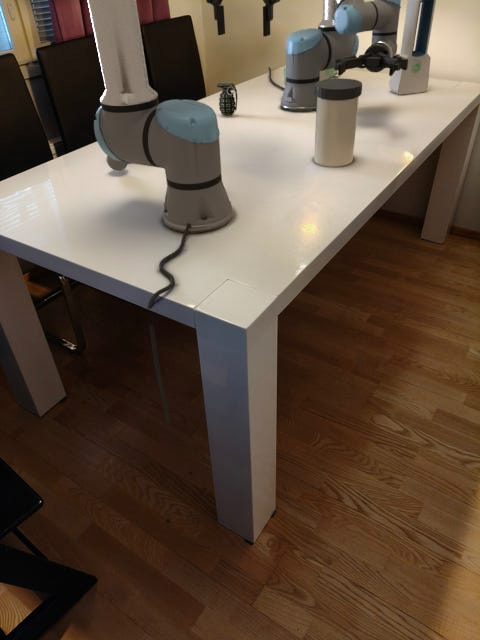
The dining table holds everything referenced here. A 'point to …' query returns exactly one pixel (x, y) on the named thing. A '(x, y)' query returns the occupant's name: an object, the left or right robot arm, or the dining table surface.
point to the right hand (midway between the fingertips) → (364, 70)
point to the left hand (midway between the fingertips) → (243, 35)
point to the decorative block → (323, 74)
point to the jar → (335, 131)
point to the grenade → (227, 99)
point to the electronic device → (419, 59)
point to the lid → (338, 89)
